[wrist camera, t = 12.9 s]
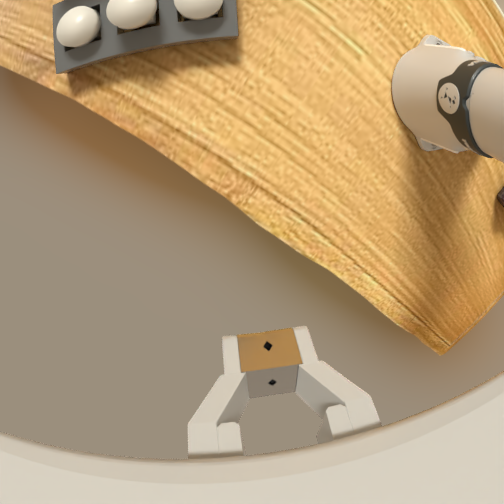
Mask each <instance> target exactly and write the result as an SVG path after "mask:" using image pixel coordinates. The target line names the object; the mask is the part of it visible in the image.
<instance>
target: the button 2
mask: <svg viewBox="0 0 504 504" xmlns="http://www.w3.org/2000/svg"><path fill="white" fill-rule="evenodd" d="M174 4H175V6H176V8H177V10H178V12H179V13H180V14H181V15H182V16H183V18H184V20H185V21H188V20H203V19H207V18H216V17H217V14H218V11H219V10H220V8H221V6H222V4H223V0H174Z"/></svg>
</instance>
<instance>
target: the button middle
mask: <svg viewBox="0 0 504 504" xmlns="http://www.w3.org/2000/svg"><path fill="white" fill-rule="evenodd" d="M156 10H157V0H110V1H109V2H108V5H107V9H106V14H107V18H108V20H109V21H110V22H111V23H112V24H113V25H115V26H118V28H121V29H123V30H129V29H136V28H139V27H141V26H146V25H151V24H156Z"/></svg>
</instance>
